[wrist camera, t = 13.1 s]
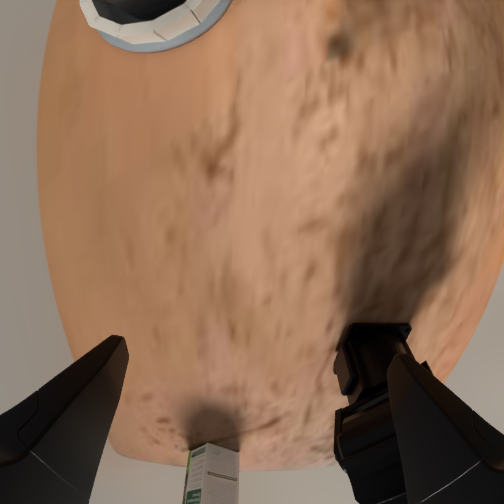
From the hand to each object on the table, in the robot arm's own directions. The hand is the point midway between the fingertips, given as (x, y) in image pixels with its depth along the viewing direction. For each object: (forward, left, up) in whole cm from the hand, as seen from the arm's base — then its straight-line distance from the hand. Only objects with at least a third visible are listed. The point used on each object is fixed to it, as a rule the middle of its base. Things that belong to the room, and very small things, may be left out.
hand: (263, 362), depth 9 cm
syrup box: (+3, +37, -13) cm, 39 cm away
